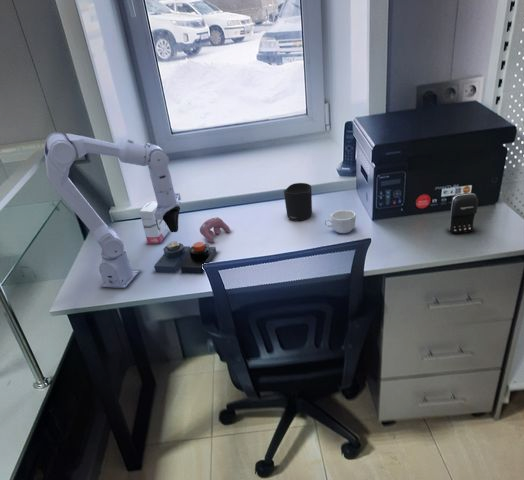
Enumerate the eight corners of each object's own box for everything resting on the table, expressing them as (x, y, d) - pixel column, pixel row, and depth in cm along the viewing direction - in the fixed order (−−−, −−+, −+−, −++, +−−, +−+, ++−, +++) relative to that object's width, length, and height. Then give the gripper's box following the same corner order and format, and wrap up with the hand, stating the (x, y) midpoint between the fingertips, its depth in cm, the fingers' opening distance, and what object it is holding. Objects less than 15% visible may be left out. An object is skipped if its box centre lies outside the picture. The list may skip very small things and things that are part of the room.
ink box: (161, 243, 172) (151, 211, 165) (147, 244, 173) (138, 211, 166) (169, 232, 178) (161, 200, 171) (156, 232, 180) (147, 201, 172)
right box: (202, 273, 152) (199, 262, 150) (181, 273, 154) (178, 261, 152) (216, 252, 162) (214, 241, 159) (197, 252, 164) (194, 241, 161)
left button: (176, 251, 158) (175, 246, 157) (166, 251, 159) (165, 246, 158) (181, 246, 160) (179, 241, 159) (171, 246, 161) (169, 241, 160)
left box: (175, 272, 155) (172, 261, 152) (155, 272, 157) (152, 260, 154) (191, 252, 164) (188, 241, 162) (172, 251, 166) (169, 241, 164)
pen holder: (282, 214, 178) (279, 187, 172) (307, 208, 180) (305, 180, 174) (291, 224, 171) (289, 196, 165) (317, 217, 173) (315, 189, 166)
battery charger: (451, 235, 151) (455, 199, 144) (447, 230, 154) (452, 194, 147) (475, 233, 151) (480, 196, 143) (471, 227, 154) (476, 191, 146)
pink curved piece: (224, 233, 175) (214, 215, 173) (232, 230, 172) (222, 211, 170) (205, 245, 170) (194, 227, 168) (212, 242, 166) (202, 223, 164)
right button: (202, 252, 155) (201, 247, 154) (192, 252, 156) (191, 247, 155) (206, 246, 158) (205, 241, 157) (196, 246, 159) (195, 241, 158)
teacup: (354, 223, 165) (354, 208, 162) (357, 234, 159) (356, 218, 156) (324, 226, 166) (323, 211, 163) (325, 237, 160) (324, 221, 157)
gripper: (165, 198, 140) (176, 242, 149) (185, 179, 151) (194, 220, 159) (143, 198, 142) (155, 242, 151) (164, 179, 153) (174, 220, 161)
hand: (174, 231), depth 155 cm, fingers closed
